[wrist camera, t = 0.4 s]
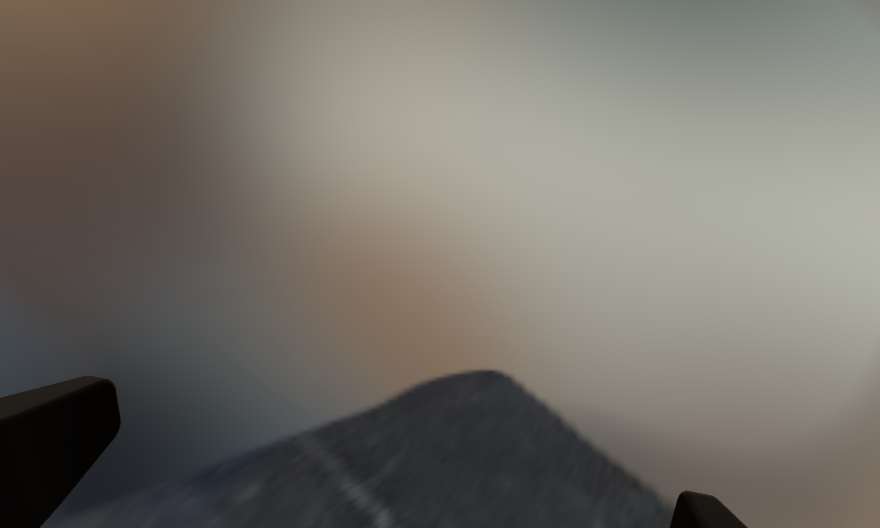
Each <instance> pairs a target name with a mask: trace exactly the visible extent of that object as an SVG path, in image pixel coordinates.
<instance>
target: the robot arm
mask: <svg viewBox="0 0 880 528" xmlns="http://www.w3.org/2000/svg"><path fill="white" fill-rule="evenodd" d="M120 425H121V418H120V412H119V405H118V398H117V392H116V387H115V385H114V383H113V382H112V381H110V380H109V379H105V378H99V377H94V376H83V377H79V378H75V379H72V380H68V381H64V382H60V383H56V384H52V385H49V386H45V387H40V388H37V389H33V390H29V391H25V392H21V393H18V394H14V395H9V396H6V397H2V398H0V528H40V527H41V526H42V525H43V524H44V523H45V522H46V520H47V519H48V518H49V517H50V516H51V515H52V514H53V512H54V511H55V510H56V509H57V508H58V507H59V505H60V504H61V503H62V502H63V501H64V499H65V498H66V497H67V496H68V494H69V493H70V492H71V491H72V489H73V488H74V487H75V486H76V485H77V483H78V482H79V481H80V479H81V478H82V477H83V476H84V475H85V474H86V472H87V471H88V470H89V469H90V467H91V466H92V465H93V464H94V462H95V461H96V460H97V459H98V458H99V456H100V455H101V454H102V453H103V451H104V450H105V449H106V448H107V447H108V445H109V444H110V443H111V442H112V441H113V439H114V438H115V436H116V435H117V433H118V431H119V428H120ZM670 528H747V527H746V526H745V525H744V524H743V523H742V522H741V521H740V520H739V519H738V518H737V517H736V516H735V515H734V514H733V513H732V512H731V511H730V510H729V509H728V508H726V507H725V506H724V505H723V504H722V503H721V502H720V501H719V500H718V499H717V498H715V497H714V496H711V495H707V494H702V493H697V492H691V491H684V492H682V493H681V494H680V495H679V497H678V499H677V503H676V507H675V510H674V514H673V517H672V521H671V525H670Z"/></svg>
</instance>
